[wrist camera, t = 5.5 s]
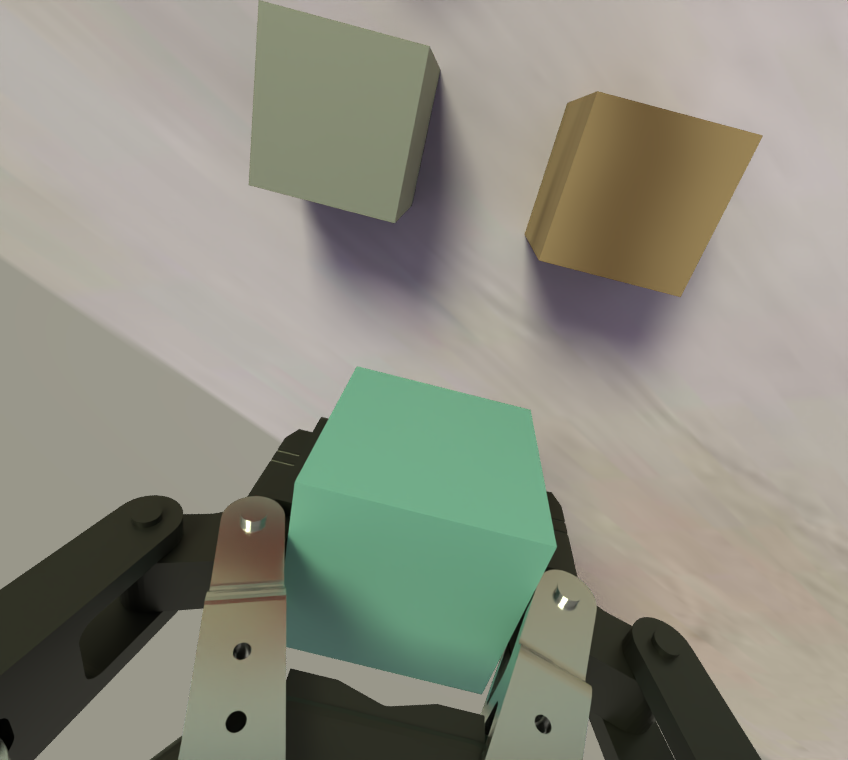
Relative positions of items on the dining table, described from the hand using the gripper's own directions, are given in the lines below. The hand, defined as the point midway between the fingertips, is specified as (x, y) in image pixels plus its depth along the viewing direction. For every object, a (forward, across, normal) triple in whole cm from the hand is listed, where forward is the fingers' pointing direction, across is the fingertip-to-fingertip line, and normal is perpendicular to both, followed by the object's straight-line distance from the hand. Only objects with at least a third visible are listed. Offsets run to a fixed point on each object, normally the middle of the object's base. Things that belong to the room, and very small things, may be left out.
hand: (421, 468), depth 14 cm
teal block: (+1, 0, 0) cm, 1 cm away
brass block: (+10, -5, -8) cm, 14 cm away
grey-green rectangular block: (+10, +5, -8) cm, 14 cm away
